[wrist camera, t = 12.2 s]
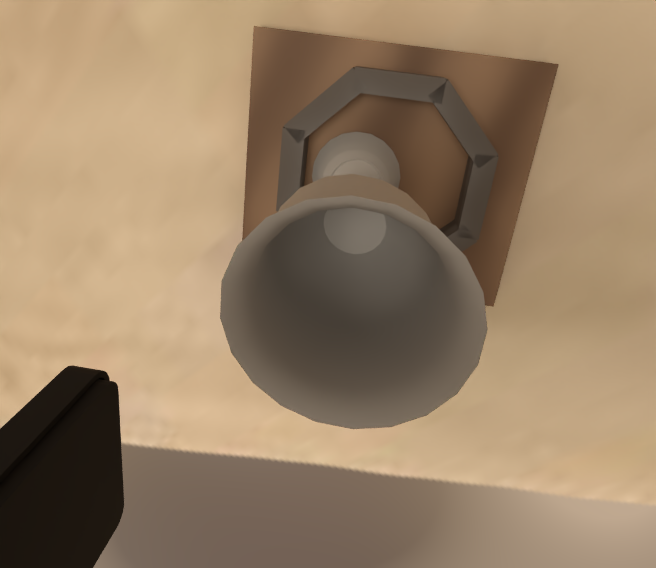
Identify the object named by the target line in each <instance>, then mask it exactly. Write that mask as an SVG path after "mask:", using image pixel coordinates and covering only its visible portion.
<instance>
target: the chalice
mask: <svg viewBox="0 0 656 568" xmlns="http://www.w3.org/2000/svg"><path fill="white" fill-rule="evenodd" d="M312 179H313V182H312V183H310V184H308V185H306V186H303V187H301V188H299V189H298V190H297V191H296V192H295V193H294V194H293V195H292V196H291V197H290V198H289V199H288V200H287V201H286V202H285V203H284V204H283V205H282V206H281V207H280V209H279V211H278V212H277V213H275V214H273V215H271V216H268V217H266V218H265V219H264V220H263V221H262V222H261V223H260V224H259V225H258V226H257V227H256V228H255V229H254V230H253V231H252V232H251V233H250V234H249V235H248V236H247V237H246V238H245V239H244V240H243V241H242V242H241V243H240V244H239V245H238V246H237V248H236V250H235V252H234V254H233V257H232V259H231V261H230V263H229V266H228V268H227V270H226V272H225V275H224V277H223V279H222V286H221V312H220V319H221V322H222V325H223V328H224V331H225V334H226V337H227V340H228V343H229V346H230V349H231V353H232V354H233V355H234V357H235V358H236V360H237V361H238V362H239V364H240V365H241V367H242V368H243V369H244V371H245V372H246V374H247V375H248V376H249V378H250V379H251V381H252V382H253V383H254V384H255V385H256V386H258V387H259V388H260V389H261V390H263V391H264V392H265V393H266V394H268V395H269V396H270V397H271V398H273V399H274V400H275V401H276V402H278V403H279V404H280V405H281V406H283V407H285V408H287V409H289V410H292V411H294V412H296V413H298V414H300V415H302V416H305V417H307V418H309V419H311V420H313V421H315V422H320V423H325V424H330V425H335V426H340V427H345V428H350V429H363V428H382V427H392V426H395V425H399V424H402V423H405V422H408V421H411V420H414V419H417V418H420V417H423V416H426V415H428V414H429V413H431V412H432V411H433V410H435V409H436V408H438V407H439V406H440V405H442V404H443V403H445V402H446V401H448V400H449V399H450V398H452V397H453V396H455V395H456V394H457V393H458V392H459V390H460V389H461V387H462V386H463V385H464V383H465V382H466V381H467V379H468V378H469V376H470V375H471V374H472V372H473V371H474V369H475V368H476V367H477V365H478V363H479V359H480V355H481V351H482V348H483V344H484V340H485V337H486V333H487V321H486V311H485V302H484V293H483V290H482V288H481V286H480V284H479V282H478V280H477V278H476V276H475V274H474V272H473V270H472V268H471V266H470V264H469V262H468V260H467V258H466V256H465V255H464V254H463V253H462V252H461V251H460V250H459V249H458V248H457V247H456V246H455V245H454V244H453V243H452V242H451V241H450V240H449V239H448V238H447V237H446V236H445V235H444V234H443V233H442V232H441V231H440V230H439V229H438V228H437V227H436V226H435V225H433V224H432V223H431V221H430V219H429V217H428V215H427V213H426V212H425V211H424V210H423V209H422V208H421V207H420V206H419V205H418V204H417V203H416V202H415V201H414V200H413V199H412V198H411V197H410V196H409V195H408V194H407V193H405V192H404V191H402V190H400V189H398V187H399V182H400V169H399V163H398V161H397V159H396V156H395V154H394V152H393V151H392V149H391V148H390V147H389V146H388V145H387V144H386V143H385V142H384V141H383V140H381V139H379V138H377V137H375V136H374V135H372V134H368V133H362V132H351V133H344V134H341V135H339V136H337V137H335V138H333V139H331V140H330V141H329V142H328V143H327V144H326V145H325V146H324V147H323V148H322V149H321V150H320V151H319V153H318V155H317V157H316V159H315V161H314V165H313V172H312Z"/></svg>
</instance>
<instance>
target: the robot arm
mask: <svg viewBox="0 0 656 568" xmlns="http://www.w3.org/2000/svg"><path fill="white" fill-rule="evenodd" d="M121 455H122V454H121V434H120V414H119V395H118V386H117V384H116V383H115V382H112V381H110V380H109V376H108V374H107V372H105V371H101V370H95V369H89V368H84V367H78V366H68V367H67V368H65V369H64V370H63V371H61V372H60V373H59V374H58V375H57V376H56V377H55V378H54V379H53V380H52V381H51V382H50V383H49V384H48V385H47V386H45V387H44V388H43V389H42V390H41V391H40V392H39V393H38V394H37V395H36V396H35V397H34V398H33V399H32V400H31V401H30V402H28V403H27V404H26V405H25V406H24V407H23V408H22V409H21V410H20V411H19V412H18V413H17V414H16V415H15V416H14V417H12V418H11V419H10V420H9V421H8V422H7V423H6V424H5V425H4V426H3V427H2V428H1V429H0V568H93V567H94V565H95V563H96V561H97V560H98V558H99V556H100V554H101V553H102V551H103V550H104V548H105V546H106V545H107V543H108V541H109V539H110V538H111V536H112V535H113V533H114V531H115V530H116V528H117V526H118V524H119V522H120V519H121V516H122V513H123V508H124V495H123V494H124V493H123V474H122V456H121Z"/></svg>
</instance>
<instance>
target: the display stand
mask: <svg viewBox="0 0 656 568" xmlns="http://www.w3.org/2000/svg"><path fill="white" fill-rule="evenodd" d="M557 68H558V64H552V63H544V62H536V61H528V60H520V59H512V58H504V57H496V56H488V55H480V54H472V53H464V52H456V51H449V50H441V49H433V48H425V47H417V46H409V45H401V44H393V43H385V42H377V41H369V40H361V39H353V38H345V37H337V36H329V35H321V34H313V33H305V32H297V31H289V30H281V29H273V28H265V27H257V26H254V33H253V52H252V70H251V89H250V107H249V126H248V145H247V163H246V182H245V201H244V219H243V238H242V241H243V240H244V239H245V238H246V237H247V236H248V235H249V234H250V233H251V232H252V231H253V230H254V229H255V228H256V227H257V226H258V225H259V224H260V223H261V222H262V221H263V220H264V219H265V218H266V217H268V216H271V215H273V214H275V213H277V212H278V211H279V209H280V207H281V206H282V205H283V204H284V203H285V202H286V201H287V200H288V199H289V198H290V197H291V196H292V195H293V194H294V193H295V192H296V191H297V190H298V189H299V188H301V187H303V186H306V185H308V184H310V183H312V182H313V179H312V172H313V165H314V161H315V159H316V157H317V155H318V153H319V151H320V150H321V149H322V148H323V147H324V146H325V145H326V144H327V143H328V142H329V141H330V140H331V139H333V138H335V137H337V136H339V135H341V134H344V133H351V132H362V133H368V134H372V135H374V136H375V137H377V138H379V139H381V140H383V141H384V142H385V143H386V144H387V145H388V146H389V147H390V148H391V149H392V151H393V152H394V154H395V156H396V159H397V161H398V163H399V169H400V182H399V187H398V189H400V190H402V191H404V192H405V193H407V194H408V195H409V196H410V197H411V198H412V199H413V200H414V201H415V202H416V203H417V204H418V205H419V206H420V207H421V208H422V209H423V210H424V211H425V212H426V213H427V215H428V217H429V219H430V221H431V223H432V224H433V225H435V226H436V227H437V228H438V229H439V230H440V231H441V232H442V233H443V234H444V235H445V236H446V237H447V238H448V239H449V240H450V241H451V242H452V243H453V244H454V245H455V246H456V247H457V248H458V249H459V250H460V251H461V252H462V253H463V254H464V255H465V256H466V258H467V260H468V262H469V264H470V266H471V268H472V270H473V272H474V274H475V276H476V278H477V280H478V282H479V284H480V286H481V288H482V290H483V293H484V302H485V305H487V306H494V303H495V299H496V295H497V291H498V288H499V284H500V280H501V276H502V273H503V269H504V265H505V262H506V258H507V254H508V250H509V247H510V243H511V239H512V236H513V232H514V228H515V224H516V221H517V217H518V213H519V210H520V206H521V202H522V198H523V195H524V191H525V187H526V183H527V180H528V176H529V172H530V169H531V165H532V161H533V157H534V154H535V150H536V146H537V143H538V139H539V135H540V131H541V128H542V124H543V120H544V117H545V113H546V109H547V105H548V102H549V98H550V94H551V90H552V87H553V83H554V79H555V76H556V72H557Z"/></svg>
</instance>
